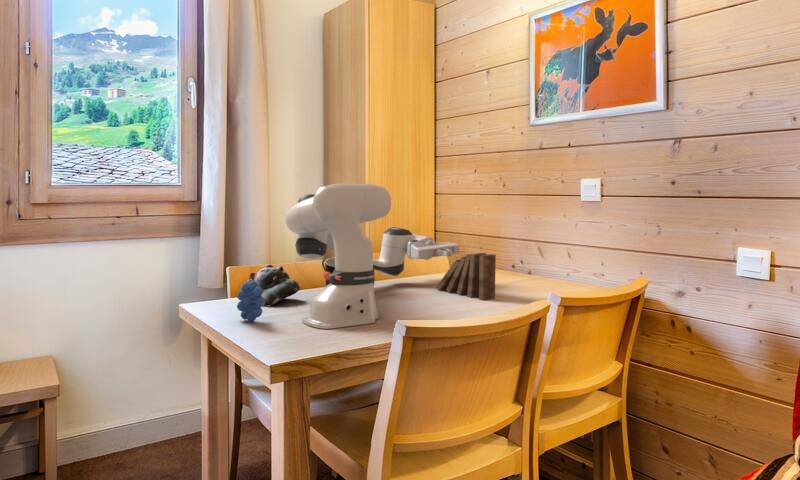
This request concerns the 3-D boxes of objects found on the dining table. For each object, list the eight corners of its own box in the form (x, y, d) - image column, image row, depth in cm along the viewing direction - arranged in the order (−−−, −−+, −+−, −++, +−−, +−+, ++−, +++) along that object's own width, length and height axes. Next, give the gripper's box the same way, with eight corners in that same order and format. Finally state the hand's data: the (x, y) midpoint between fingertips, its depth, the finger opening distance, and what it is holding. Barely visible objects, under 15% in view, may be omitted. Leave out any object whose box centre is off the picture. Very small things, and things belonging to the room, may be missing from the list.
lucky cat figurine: (264, 308, 175) (245, 268, 177) (256, 315, 186) (239, 278, 187) (306, 289, 183) (287, 252, 185) (296, 297, 193) (279, 262, 195)
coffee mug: (348, 291, 206) (351, 266, 202) (325, 292, 203) (328, 267, 199) (340, 278, 216) (343, 254, 212) (318, 278, 213) (320, 254, 209)
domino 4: (470, 297, 192) (474, 255, 189) (467, 296, 193) (470, 254, 191) (483, 295, 196) (486, 253, 193) (479, 294, 197) (482, 252, 194)
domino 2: (449, 293, 200) (465, 260, 193) (446, 289, 202) (462, 256, 194) (461, 291, 204) (477, 258, 197) (458, 287, 205) (474, 255, 198)
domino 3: (459, 295, 196) (470, 256, 191) (456, 293, 197) (466, 254, 192) (471, 293, 200) (482, 255, 195) (468, 291, 201) (478, 253, 196)
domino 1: (438, 290, 205) (458, 263, 196) (436, 286, 206) (455, 260, 197) (450, 288, 208) (470, 262, 199) (448, 285, 209) (468, 258, 200)
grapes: (276, 322, 158) (275, 280, 157) (256, 326, 153) (255, 283, 152) (251, 316, 166) (250, 276, 165) (231, 320, 161) (230, 279, 159)
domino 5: (482, 300, 188) (483, 256, 186) (478, 299, 189) (479, 255, 188) (494, 298, 191) (495, 254, 190) (491, 297, 193) (491, 254, 191)
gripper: (445, 252, 222) (469, 259, 211) (404, 258, 210) (428, 265, 199) (445, 237, 221) (470, 242, 210) (404, 242, 208) (428, 248, 198)
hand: (449, 253), depth 204 cm, fingers closed
